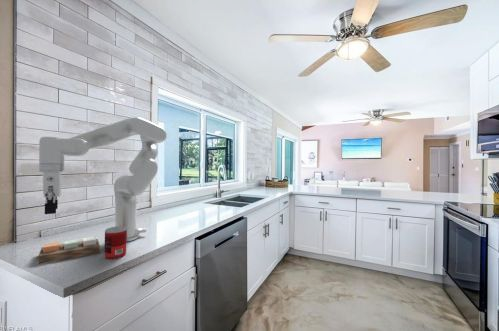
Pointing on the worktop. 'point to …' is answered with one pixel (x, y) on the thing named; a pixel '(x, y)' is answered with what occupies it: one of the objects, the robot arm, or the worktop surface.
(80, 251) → the key panel
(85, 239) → the ivory key
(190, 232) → the worktop surface
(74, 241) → the sage key
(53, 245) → the terracotta key
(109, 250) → the canned food
